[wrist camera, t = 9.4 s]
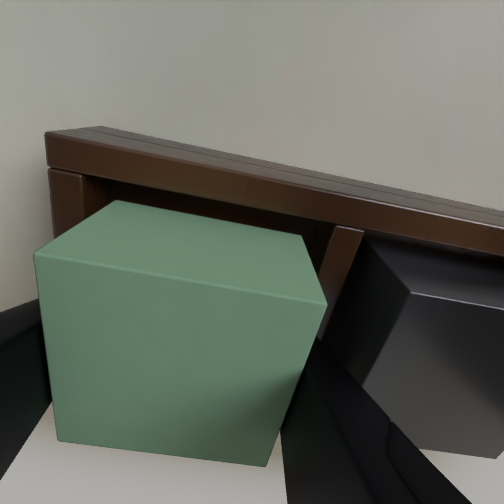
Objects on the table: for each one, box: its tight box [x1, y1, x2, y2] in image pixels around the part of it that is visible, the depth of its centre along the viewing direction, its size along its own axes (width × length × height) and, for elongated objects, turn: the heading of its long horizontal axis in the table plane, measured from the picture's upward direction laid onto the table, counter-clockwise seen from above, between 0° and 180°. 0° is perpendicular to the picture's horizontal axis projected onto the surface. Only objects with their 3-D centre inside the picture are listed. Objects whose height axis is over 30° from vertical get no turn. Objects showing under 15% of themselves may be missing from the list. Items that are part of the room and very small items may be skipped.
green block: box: [33, 200, 327, 467], centre depth 7 cm, size 5×5×3 cm
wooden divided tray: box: [44, 126, 504, 459], centre depth 9 cm, size 15×8×4 cm, turn 79°
